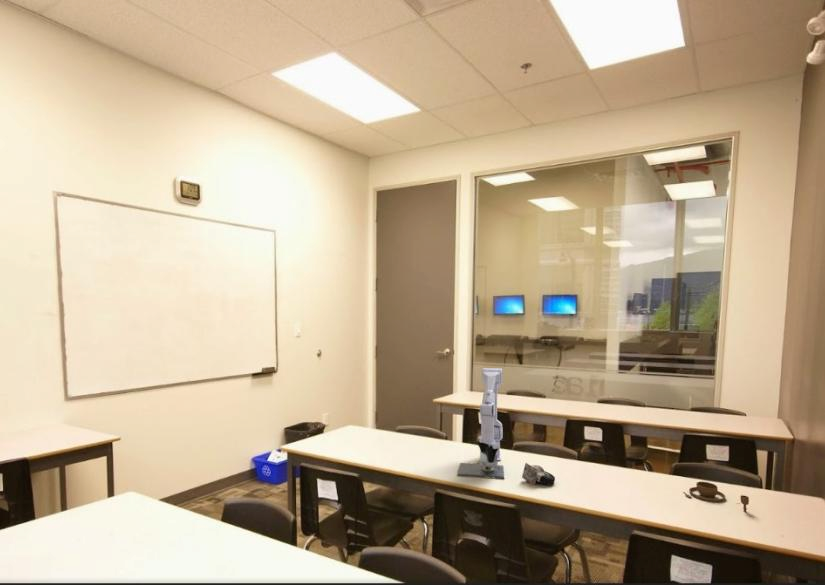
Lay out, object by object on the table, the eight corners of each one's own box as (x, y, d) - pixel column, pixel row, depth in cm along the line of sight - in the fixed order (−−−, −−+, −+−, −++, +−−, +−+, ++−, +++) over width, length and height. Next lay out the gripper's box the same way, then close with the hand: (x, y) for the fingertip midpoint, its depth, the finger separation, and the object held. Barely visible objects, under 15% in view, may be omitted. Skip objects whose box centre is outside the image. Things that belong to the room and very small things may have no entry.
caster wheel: (556, 488, 188) (542, 491, 182) (534, 475, 197) (520, 477, 191) (560, 473, 188) (546, 475, 182) (538, 461, 197) (524, 462, 191)
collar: (480, 462, 204) (480, 451, 204) (490, 461, 206) (490, 450, 206) (486, 466, 198) (486, 455, 199) (497, 465, 200) (497, 454, 200)
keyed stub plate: (460, 464, 210) (460, 455, 210) (503, 467, 206) (503, 457, 207) (457, 475, 196) (457, 465, 196) (504, 478, 193) (503, 468, 193)
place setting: (724, 492, 179) (724, 478, 179) (753, 515, 159) (752, 498, 160) (677, 489, 182) (677, 475, 182) (699, 511, 162) (699, 495, 163)
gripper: (472, 426, 208) (472, 456, 207) (487, 435, 194) (487, 466, 194) (485, 425, 210) (485, 454, 210) (501, 433, 197) (502, 464, 196)
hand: (487, 460), depth 202 cm, fingers closed on collar, 6 cm apart
